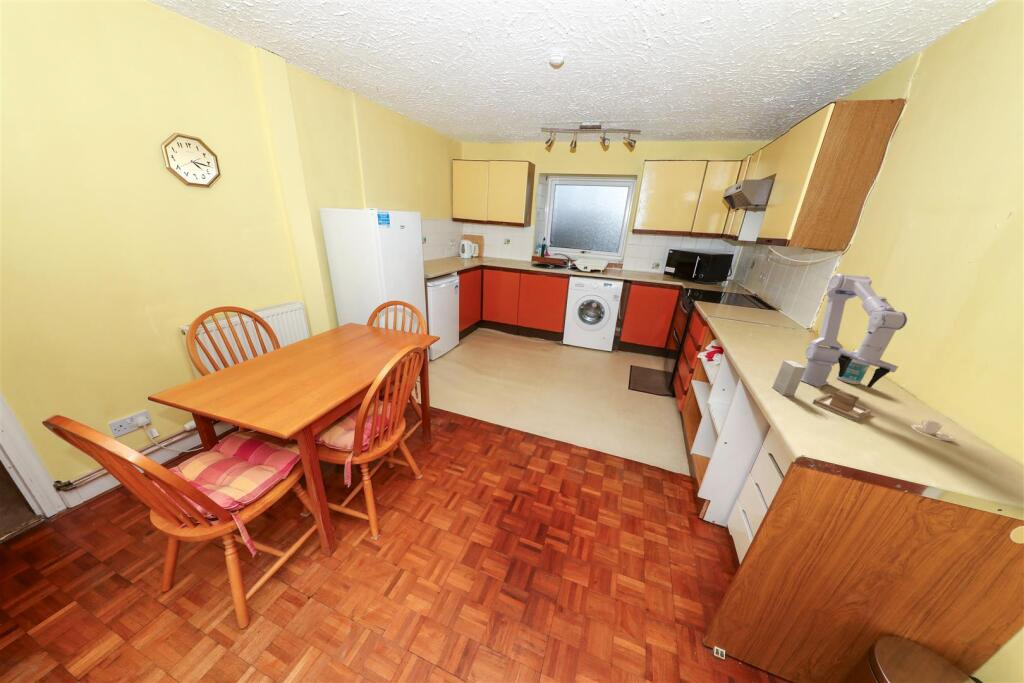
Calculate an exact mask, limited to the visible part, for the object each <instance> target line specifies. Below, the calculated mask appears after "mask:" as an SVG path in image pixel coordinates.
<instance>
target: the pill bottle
mask: <svg viewBox="0 0 1024 683" xmlns="http://www.w3.org/2000/svg"><path fill="white" fill-rule="evenodd" d="M857 351H858V349H855V350H854V351H853V352H854V353H857ZM870 366H871V365H869V364H866V363H863V362H860V361H857V360H854V359H853V360H852V361H851V363H850V364H849V366H848V367H847V370H846V372H845V374H844V376H843V377H838V376H839V371H838V372H837V374H836V378H837V380H839V381H841V382H843V383H847V384H850V385H860V383H861V382H862V380H864V377H865V375H866V373H867V371H868V369H869V368H870Z"/></svg>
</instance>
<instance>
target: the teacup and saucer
mask: <svg viewBox="0 0 1024 683" xmlns="http://www.w3.org/2000/svg"><path fill="white" fill-rule="evenodd" d="M924 421H925V422H926V423H925V425H924ZM910 426H911V428H912V430H914V431H916V432H917V433H919V434H921V435H924V436H926V437H928V438H932V439H936V440H939V441H947V442H955V441H956V438H955V437H954V436H953V435H949V434H947V433H946V434H945V433H942V432H940V430H941V429H942V427H943V426H944V425H943V424H942V423H940V422H938V421H935V420H930V419H928V420H927V419H924V420H923V419H922V421H921V425H919V424H912V425H910ZM917 428H923V431H924V432H925V433H923V432H921V431H920V430H918V429H917ZM931 435H933V436H931ZM934 435H935V436H934Z"/></svg>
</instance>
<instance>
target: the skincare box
mask: <svg viewBox="0 0 1024 683" xmlns="http://www.w3.org/2000/svg"><path fill="white" fill-rule="evenodd" d="M805 370H806V367H805V366H803V365H801V364H800V363H798V362H796V361H795V360H785V359H784V360H783V361H782V363H781V365H780V368H779V370H778V373H777V375H776V377H775V379H774V382H773V384H772V387H771V388H772V389H774V390H775V391H776V392H778V393H780V394H781V395H782V396H789V397H794V396H795V395H796V392H797V390H798V387H799V386H800V383H801V382H802V381H801V379H802V376H803V374H804V372H805Z"/></svg>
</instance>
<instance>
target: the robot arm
mask: <svg viewBox="0 0 1024 683" xmlns="http://www.w3.org/2000/svg"><path fill="white" fill-rule="evenodd" d="M872 282H873V281H872V279H871V278H870V277H869V276H867V275H856V274H854V275H852V274H845V273H836V274H834V275H833V276H832V277H831V278H830V279H829V281H828V283H827V284H828V285H827V288H826V293H825V295H826V296H827V301H826V305H825V310H824V315H823V319H822V323H821V328H820V332H819V337H818V338H816V339H814V340H811V341H809V343H808V346H807V348H806V350H805V354H804V355H805V358H806V360H807V362H806V364H805V366H804V367H806V370H805V372H804V374H803V376H802V379H801V381H800V382H804V383H805V384H810V385H811V386H814V387H817V388H820V387H822V386H826V385H828V384H829V383H830V382H829V381H827V380H828V378H829V376H830V374H831V372H832V370H833V366H835V365H836V364H839V366H838V367H839V371H838V372H839V376H838V377H843V376H844V374H845V372H846V370H847V367H848V366H849V364H850V363H851V361H852V360H853V359H854V360H857V361H860V362H863V363H866V364H869V365H870V366H873V367H876V369H875V370H874V373H873V375H872V377H871V379H870V381H869V382H868V384H867V385H866V387H867V388H870V389H871V388H872V387H873V386H874V385H875V383H876V382H878V381H879V380H880V379H881V378H883V377H885V376H886V375H888V374H889V373H896V372H897V370H898V368H899V366H898V365H896V364H893V363H890V362H887V361H884V360H881V359H882V357H883V354H884V352H885V351H886V349H887V347H888V346H889V344H890V342H891V340H892V338H893V337H894V335H895V333H896V331H899V330H902V329H903V328H904V327H905V326H906V325H907V323H908V317H907V314H906V313H905V312H903V311H898V310H895V308H894V307H893V306H892V305H891V304H890V303H889V302H888V299H887V298H886V297H884V296H879V295H877V294H876V292H875V291H874V289H873V287H872ZM855 297H858V298H859V299H860V300H861V301H862V304H861V307H862V309H863V310H864V311H865V313H866V314H867V315H868V316H869V317H868V325H867V327H866V331H867V332H866V334H865V336H864V338H863V340H862V341H861V344H860V346H859V348H858V349H857V350H858V351H857V353H854V351H850V350H845V349H843V347H844V346H843V345H842V344H841V343H840V342H839V341H838V336H839V331H840V329H841V328H840V327H841V322H842V319H843V315H844V309H845V305H846V301H848V300H849V299H854V298H855Z"/></svg>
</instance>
